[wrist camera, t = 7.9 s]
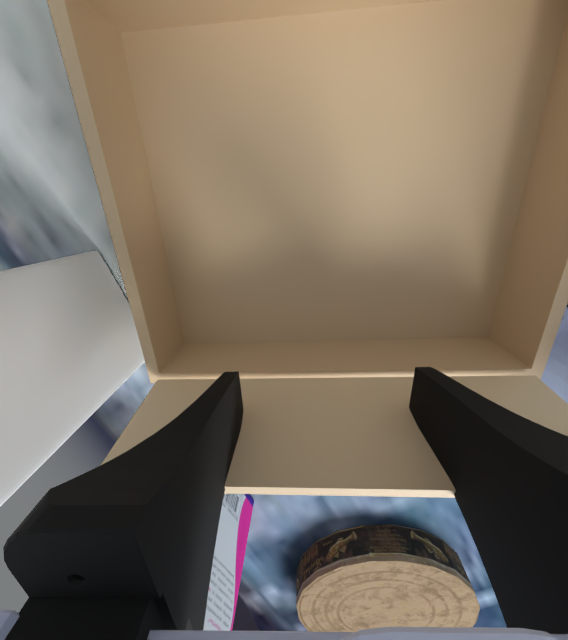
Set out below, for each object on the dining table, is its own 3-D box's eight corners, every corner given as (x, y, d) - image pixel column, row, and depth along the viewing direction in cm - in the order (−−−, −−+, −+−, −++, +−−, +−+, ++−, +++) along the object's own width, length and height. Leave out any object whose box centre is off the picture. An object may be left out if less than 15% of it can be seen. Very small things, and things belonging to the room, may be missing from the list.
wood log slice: (377, 495, 24) (387, 533, 21) (497, 573, 27) (520, 615, 24) (265, 573, 29) (261, 612, 26) (376, 630, 32) (383, 670, 29)
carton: (583, -27, 11) (721, -139, 8) (490, 342, 18) (540, 378, 14) (110, 23, 13) (32, -52, 9) (180, 348, 19) (150, 382, 15)
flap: (157, 379, 15) (159, 385, 15) (87, 484, 10) (92, 491, 10) (535, 375, 13) (532, 381, 14) (669, 494, 8) (661, 501, 9)
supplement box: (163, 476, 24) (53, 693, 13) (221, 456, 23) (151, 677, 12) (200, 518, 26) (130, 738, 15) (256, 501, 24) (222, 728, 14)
